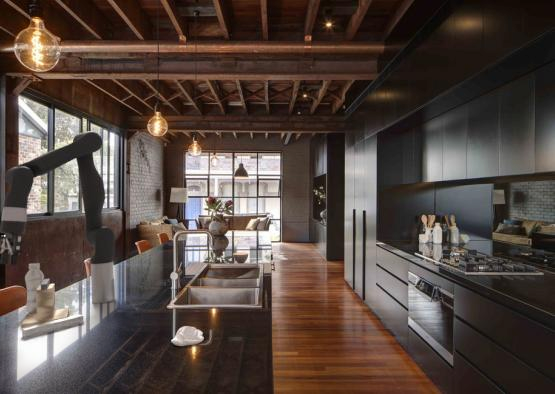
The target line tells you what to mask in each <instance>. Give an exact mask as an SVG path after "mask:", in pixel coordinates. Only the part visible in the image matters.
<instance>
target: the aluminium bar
mask: <svg viewBox="0 0 555 394" xmlns="http://www.w3.org/2000/svg"><path fill="white" fill-rule="evenodd" d="M81 324H84V315H83V314H75V315H72V316H71V315H70V316H68V317H67V318H63V319H59V320H55V321H51V322H47V323H42V324H38V325H34V326H30V327H26V328H21V331H22V332H21V333H22V338H24V339H28V338H33V337H36V336H39V335H43V334H48V333H52V332H55V331H58V330H62V329H66V328H71V327H75V326H77V325H81Z"/></svg>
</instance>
